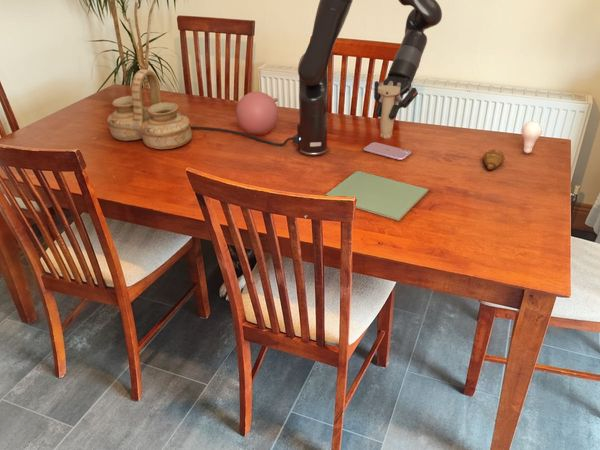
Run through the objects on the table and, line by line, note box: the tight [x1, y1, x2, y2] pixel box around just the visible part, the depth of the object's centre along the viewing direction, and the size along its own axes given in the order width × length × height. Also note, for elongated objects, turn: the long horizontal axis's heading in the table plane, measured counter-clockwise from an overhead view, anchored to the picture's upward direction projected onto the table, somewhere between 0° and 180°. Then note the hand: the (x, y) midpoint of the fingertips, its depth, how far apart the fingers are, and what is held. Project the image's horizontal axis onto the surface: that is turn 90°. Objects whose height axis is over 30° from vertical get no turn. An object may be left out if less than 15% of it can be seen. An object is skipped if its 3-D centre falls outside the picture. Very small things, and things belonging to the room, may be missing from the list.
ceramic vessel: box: [106, 68, 193, 150], centre depth 195 cm, size 34×18×25 cm, turn 61°
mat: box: [324, 170, 429, 222], centre depth 161 cm, size 24×20×1 cm
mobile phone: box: [363, 141, 412, 161], centre depth 186 cm, size 8×1×15 cm
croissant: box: [482, 148, 506, 171], centre depth 176 cm, size 14×7×5 cm, turn 155°
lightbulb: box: [521, 120, 543, 154], centre depth 181 cm, size 6×6×11 cm
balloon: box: [235, 91, 279, 136], centre depth 201 cm, size 15×20×15 cm
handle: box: [378, 85, 400, 140], centre depth 161 cm, size 5×6×15 cm
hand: (384, 116), depth 160 cm, fingers closed on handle, 3 cm apart
